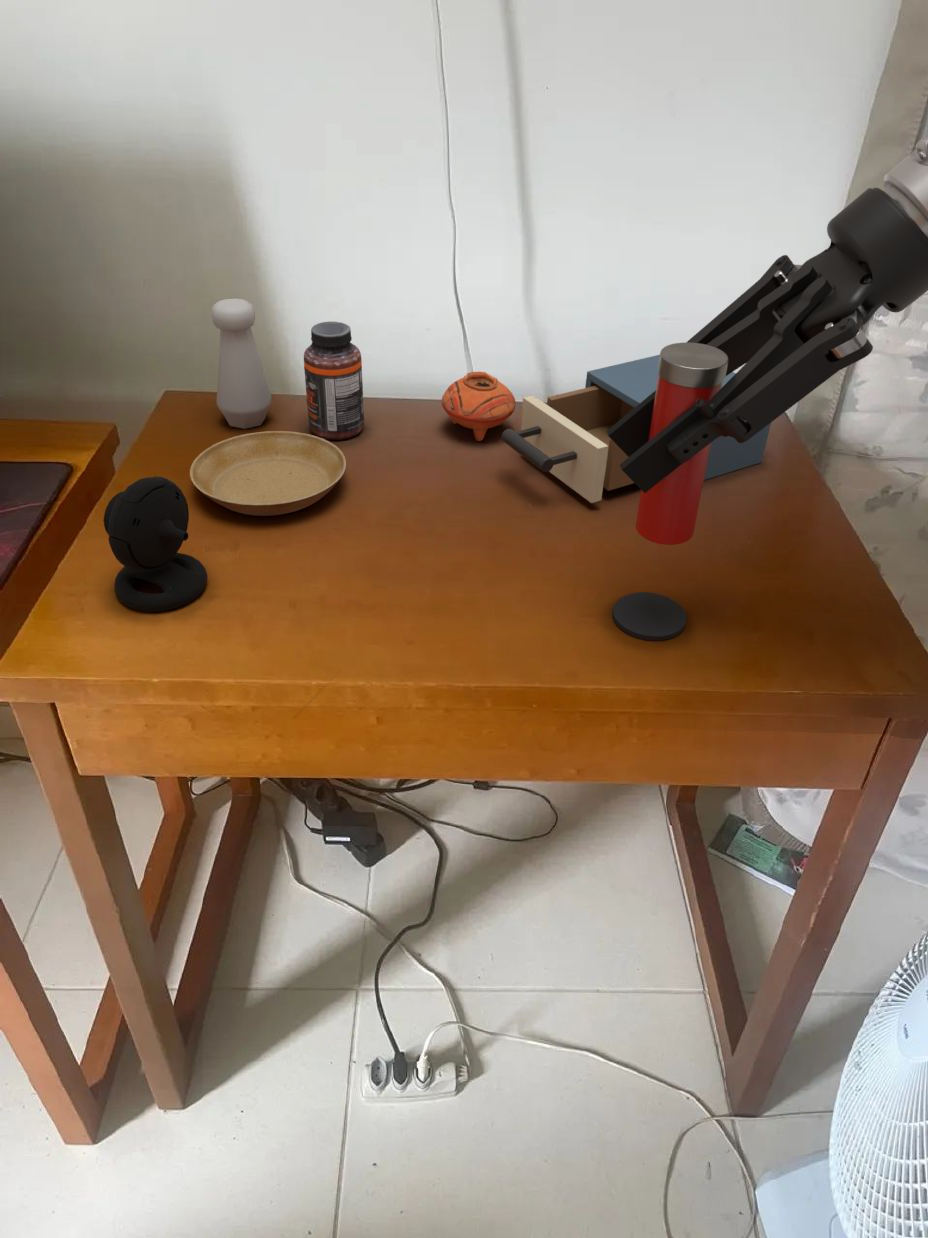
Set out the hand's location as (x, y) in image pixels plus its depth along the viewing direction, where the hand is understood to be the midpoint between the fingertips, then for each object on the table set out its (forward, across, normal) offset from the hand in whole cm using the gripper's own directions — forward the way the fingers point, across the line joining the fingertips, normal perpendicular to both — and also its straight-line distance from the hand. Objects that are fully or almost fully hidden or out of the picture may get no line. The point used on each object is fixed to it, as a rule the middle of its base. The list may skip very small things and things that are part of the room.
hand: (625, 461), depth 71 cm
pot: (+16, -34, +5) cm, 38 cm away
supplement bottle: (+27, -35, -6) cm, 44 cm away
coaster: (+8, 0, +13) cm, 15 cm away
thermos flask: (+2, 0, +7) cm, 7 cm away
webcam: (+36, -6, -15) cm, 40 cm away
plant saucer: (+31, -22, -10) cm, 39 cm away
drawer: (+8, -24, +12) cm, 28 cm away
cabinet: (+2, -29, +19) cm, 35 cm away
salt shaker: (+34, -37, -13) cm, 52 cm away
